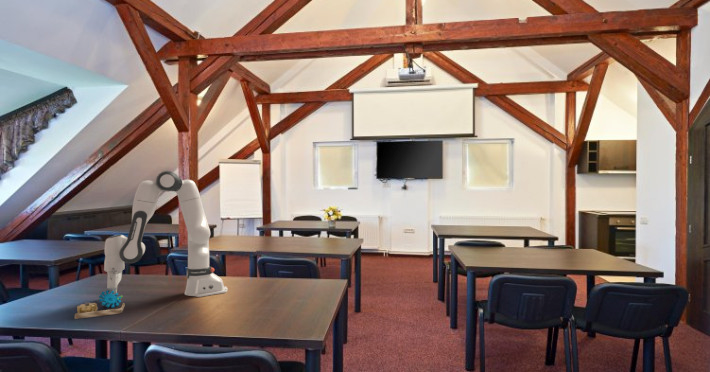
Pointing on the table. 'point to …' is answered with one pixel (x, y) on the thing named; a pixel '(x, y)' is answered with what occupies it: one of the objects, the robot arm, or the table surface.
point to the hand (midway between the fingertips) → (114, 293)
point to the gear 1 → (87, 307)
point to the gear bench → (100, 312)
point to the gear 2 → (110, 299)
